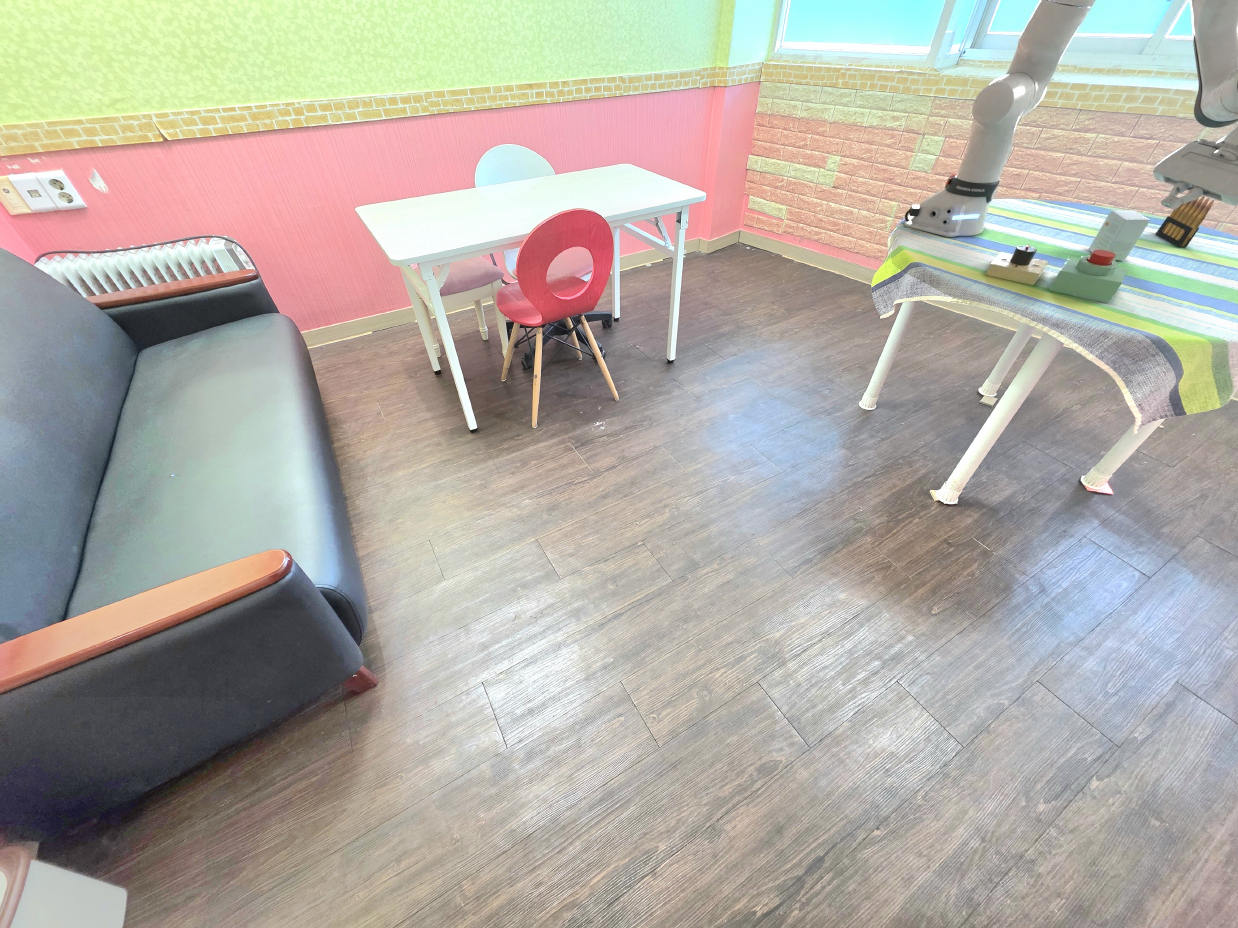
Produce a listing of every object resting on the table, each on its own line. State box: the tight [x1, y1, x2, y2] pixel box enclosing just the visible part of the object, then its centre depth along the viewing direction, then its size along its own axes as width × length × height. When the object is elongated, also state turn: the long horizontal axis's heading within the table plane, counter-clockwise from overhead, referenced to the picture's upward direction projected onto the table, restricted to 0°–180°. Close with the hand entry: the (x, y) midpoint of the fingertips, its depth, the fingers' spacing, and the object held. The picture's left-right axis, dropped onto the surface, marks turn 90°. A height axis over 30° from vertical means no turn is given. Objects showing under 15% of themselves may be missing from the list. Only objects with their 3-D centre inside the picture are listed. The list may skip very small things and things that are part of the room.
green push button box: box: [1048, 255, 1129, 304], centre depth 121 cm, size 12×10×7 cm
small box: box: [1088, 209, 1151, 261], centre depth 133 cm, size 8×6×10 cm
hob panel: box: [985, 251, 1049, 286], centre depth 130 cm, size 11×10×3 cm
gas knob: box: [1010, 244, 1038, 265], centre depth 128 cm, size 4×4×4 cm
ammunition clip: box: [1155, 191, 1215, 248], centre depth 138 cm, size 11×2×12 cm, turn 172°
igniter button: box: [1087, 250, 1116, 266], centre depth 118 cm, size 4×4×2 cm
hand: (1167, 206), depth 112 cm, fingers closed
